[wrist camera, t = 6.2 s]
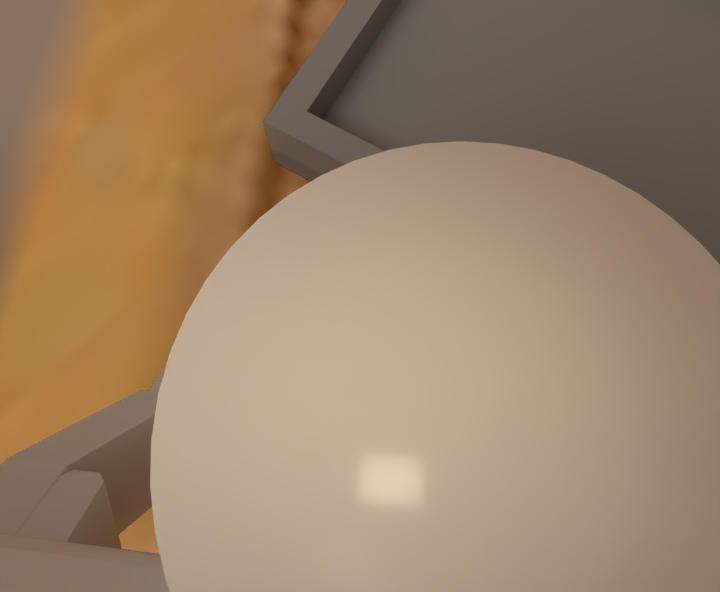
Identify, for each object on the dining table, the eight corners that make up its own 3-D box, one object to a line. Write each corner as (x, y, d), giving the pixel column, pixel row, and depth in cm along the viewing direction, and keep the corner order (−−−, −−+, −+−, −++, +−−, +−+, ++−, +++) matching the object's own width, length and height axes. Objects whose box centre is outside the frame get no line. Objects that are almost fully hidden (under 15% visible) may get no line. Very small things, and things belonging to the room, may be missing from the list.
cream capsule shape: (520, 381, 16) (884, 312, 5) (432, 570, 14) (680, 1032, 4) (351, 289, 16) (357, 54, 6) (251, 461, 15) (5, 579, 4)
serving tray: (865, 52, 19) (940, 0, 17) (743, 408, 16) (815, 407, 13) (466, -122, 21) (481, -192, 19) (275, 162, 17) (263, 121, 15)
